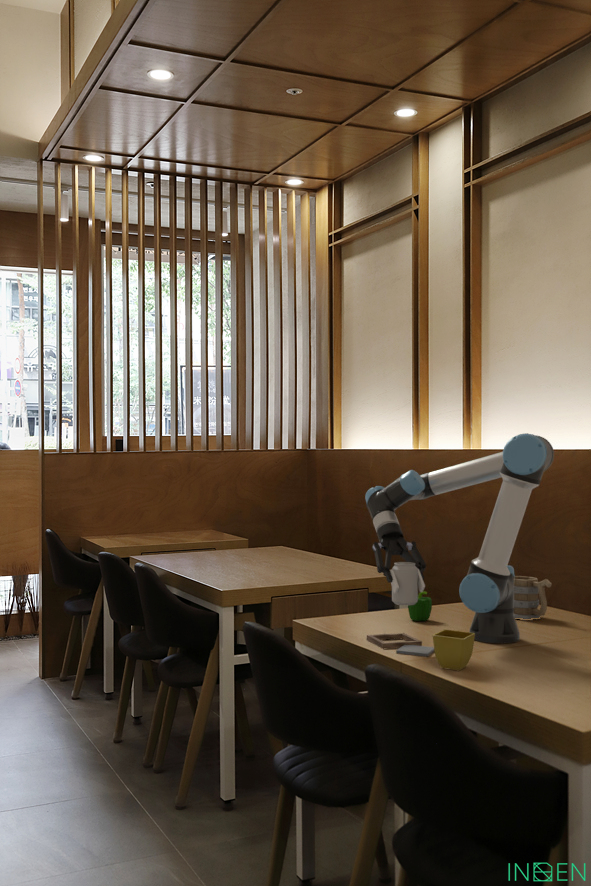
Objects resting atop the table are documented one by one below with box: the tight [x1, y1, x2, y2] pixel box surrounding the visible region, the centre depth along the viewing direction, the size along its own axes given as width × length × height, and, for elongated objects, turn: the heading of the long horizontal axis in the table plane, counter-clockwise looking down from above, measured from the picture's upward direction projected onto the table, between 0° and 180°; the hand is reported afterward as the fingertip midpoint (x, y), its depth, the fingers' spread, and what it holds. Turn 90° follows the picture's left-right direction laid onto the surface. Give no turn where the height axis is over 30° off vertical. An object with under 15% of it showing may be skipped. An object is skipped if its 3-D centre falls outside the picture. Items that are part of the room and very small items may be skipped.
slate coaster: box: [395, 645, 435, 657], centre depth 236 cm, size 9×9×1 cm
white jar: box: [391, 561, 419, 607], centre depth 241 cm, size 8×8×12 cm
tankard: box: [514, 575, 553, 619], centre depth 290 cm, size 20×13×15 cm, turn 25°
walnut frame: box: [366, 632, 423, 650], centre depth 247 cm, size 12×12×2 cm
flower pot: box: [432, 629, 475, 672], centre depth 218 cm, size 9×9×9 cm
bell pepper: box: [407, 591, 433, 622], centre depth 285 cm, size 8×8×10 cm
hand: (409, 589), depth 238 cm, fingers closed on white jar, 7 cm apart
